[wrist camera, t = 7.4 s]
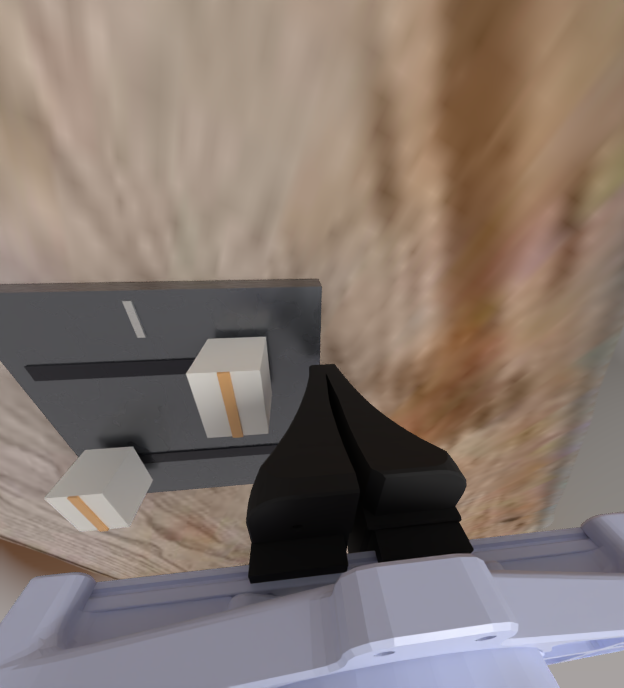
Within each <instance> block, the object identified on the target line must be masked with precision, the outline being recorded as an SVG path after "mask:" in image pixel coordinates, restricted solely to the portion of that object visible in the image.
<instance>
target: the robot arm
mask: <svg viewBox="0 0 624 688" xmlns="http://www.w3.org/2000/svg"><path fill="white" fill-rule="evenodd" d="M465 488H466V479H465V477H464V476H463V474H462V473H461V471H460V470H459V468H458V466H457V465H456V463H455V462H454V461H453V459H452V458H451V457H450V455H449V454H448V453H447V451H445V450H443V449H441V448H439V447H437V446H435V445H433V444H431V443H429V442H427V441H425V440H423V439H421V438H419V437H417V436H416V435H414V434H412V433H411V432H409V431H407V430H406V429H404V428H402V427H401V426H399V425H398V424H396V423H395V422H393V421H392V420H390V419H389V418H388V417H386V416H385V415H384V414H382V413H381V412H380V411H378V410H377V409H376V408H375V407H374V406H372V405H371V404H370V403H369V402H368V401H367V400H366V399H365V398H364V397H363V396H362V395H361V394H360V393H359V392H358V391H357V390H356V389H355V388H354V387H353V386H352V385H351V384H350V383H349V381H348V380H347V379H346V378H345V377H344V376H343V374H342V373H341V372H340V371H339V369H338V368H337V367H336V365H335V364H325V365H311V366H310V367H309V379H308V383H307V387H306V390H305V393H304V396H303V399H302V402H301V404H300V406H299V409H298V411H297V413H296V415H295V417H294V419H293V421H292V422H291V424H290V426H289V428H288V430H287V431H286V433H285V434H284V436H283V437H282V439H281V440H280V442H279V443H278V445H277V446H276V448H275V449H274V450H273V452H272V453H271V454H270V455H269V456H268V458H267V459H266V460H265V461H264V463H263V464H262V465H261V467H260V469H259V471H258V474H257V476H256V479H255V481H254V484H253V487H252V490H251V494H250V498H249V502H248V509H247V517H246V524H247V528H248V531H249V535H250V539H251V542H252V544H251V553H250V562H249V565H243V566H235V567H226V568H217V569H208V570H200V571H191V572H182V573H173V574H165V575H156V576H147V577H138V578H130V579H121V580H112V581H104V582H96V581H95V580H94V578H93V577H92V576H90V575H88V574H86V573H80V572H72V573H63V574H54V575H45V576H36V577H35V578H33V579H31V580H30V581H29V583H28V585H27V586H26V587H25V589H24V590H23V592H22V593H21V594H20V596H19V597H18V599H17V600H16V602H15V603H14V605H13V606H12V607H11V609H10V610H9V612H8V613H7V614H6V616H5V618H4V619H3V620H2V622H1V623H0V688H560V687H559V685H558V683H557V682H556V680H555V678H554V677H553V675H552V673H551V671H550V669H549V668H548V666H547V665H550V664H556V663H561V662H565V661H571V660H576V659H581V658H587V657H592V656H597V655H602V654H608V653H613V652H618V651H624V512H617V513H608V514H600V515H596V516H593V517H591V518H589V519H587V520H586V521H585V522H583V523H582V524H581V527H576V528H567V529H560V530H550V531H542V532H532V533H524V534H515V535H506V536H497V537H489V538H480V539H471V540H469V539H468V538H467V536H466V534H465V532H464V530H463V528H462V527H461V525H460V523H459V522H460V521H461V516H460V514H459V512H458V510H457V509H456V507H455V506H456V504H457V503H458V501H459V499H460V498H461V496H462V495H463V493H464V491H465ZM347 545H348V553H349V554H347V553H346V549H347Z"/></svg>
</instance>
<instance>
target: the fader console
mask: <svg viewBox="0 0 624 688" xmlns="http://www.w3.org/2000/svg"><path fill="white" fill-rule="evenodd" d="M321 295H322V286H321V284H320V281H319V279H287V280H229V281H170V282H112V283H53V284H0V361H1V362H2V363H3V365H4V366H5V367H6V368H7V369H8V371H9V372H10V373H11V374H12V376H13V377H14V378H15V379H16V381H17V382H18V383H19V384H20V386H21V387H22V388H23V389H24V390H25V392H26V393H27V394H28V395H29V397H30V398H31V399H32V400H33V402H34V403H35V404H36V405H37V407H38V408H39V409H40V410H41V411H42V413H43V414H44V415H45V416H46V418H47V419H48V420H49V421H50V423H51V424H52V425H53V426H54V428H55V429H56V430H57V431H58V432H59V434H60V435H61V436H62V437H63V439H64V440H65V441H66V442H67V444H68V445H69V446H70V447H71V449H72V450H73V451H74V452H75V454H76V455H77V456H78V457H80V455H81V454H82V453H83V452H84V451H85V450H91V449H105V448H119V447H134V449H135V451H136V453H137V454H138V456H139V458H140V459H141V461H142V463H143V464H144V466H145V468H146V469H147V471H148V473H149V474H150V476H151V478H152V479H153V481H152V483H151V485H150V487H149V489H148V491H147V493H153V492H164V491H176V490H187V489H199V488H210V487H222V486H233V485H245V484H254V481H255V479H256V476H257V474H258V471H259V469H260V467H261V465H262V464H263V463H264V461H265V460H266V459H267V458H268V456H269V455H270V454H271V453H272V452H273V450H274V449H275V448H276V446H277V445H278V443H279V442H280V440H281V439H282V437H283V436H284V434H285V433H286V431H287V430H288V428H289V426H290V424H291V422H292V421H293V419H294V417H295V415H296V413H297V411H298V409H299V406H300V404H301V402H302V399H303V396H304V393H305V390H306V387H307V383H308V379H309V367H310V366H311V365H320V331H321ZM242 337H266V342H267V352H268V361H269V370H270V380H271V389H272V399H271V410H270V421H269V433H268V434H258V435H244V436H243V437H239V438H233V437H232V436H229V437H215V438H207V435H206V432H205V429H204V426H203V423H202V420H201V417H200V414H199V411H198V408H197V405H196V402H195V399H194V396H193V393H192V390H191V387H190V384H189V381H188V378H187V375H186V373H187V371H188V370H189V368H190V367H191V365H192V363H193V362H194V360H195V359H196V357H197V355H198V354H199V352H200V351H201V349H202V347H203V346H204V344H205V343H206V341H207V339H215V338H242Z"/></svg>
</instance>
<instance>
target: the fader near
mask: <svg viewBox="0 0 624 688" xmlns="http://www.w3.org/2000/svg"><path fill="white" fill-rule="evenodd" d="M186 375H187V378H188V381H189V384H190V387H191V390H192V393H193V396H194V399H195V402H196V405H197V408H198V411H199V414H200V417H201V420H202V423H203V426H204V429H205V432H206V435H207V438H215V437H229V436H232V437H233V438H239V437H243V436H244V435H258V434H268V433H269V421H270V410H271V399H272V389H271V380H270V370H269V361H268V352H267V342H266V337H242V338H215V339H207V341H206V343H205V344H204V346H203V347H202V349H201V351H200V352H199V354H198V355H197V357H196V359H195V360H194V362H193V363H192V365H191V367H190V368H189V370H188V371H187V373H186Z"/></svg>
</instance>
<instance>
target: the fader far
mask: <svg viewBox="0 0 624 688" xmlns="http://www.w3.org/2000/svg"><path fill="white" fill-rule="evenodd" d="M152 481H153V479H152V478H151V476H150V474H149V473H148V471H147V469H146V468H145V466H144V464H143V463H142V461H141V459H140V458H139V456H138V454H137V453H136V451H135V449H134V447H119V448H105V449H91V450H85V451H84V452H83V453H82V454H81V455H80V457H79V458H78V459H77V460H76V461H75V462H74V464H73V465H72V466H71V467H70V468H69V470H68V471H67V472H66V473H65V474H64V475H63V477H62V478H61V479H60V480H59V481H58V482H57V484H56V485H55V486H54V487H53V488H52V490H51V491H50V492H49V493H48V494H47V495H46V497H45V498H44V499H45V500H46V501H47V502H48V503H49V504H50V505H51V506H52V507H54V508H55V509H56V510H57V511H58V512H59V513H60V514H61V515H62V516H63V517H64V518H65V519H67V520H68V521H69V522H70V523H71V524H72V525H73V526H74V527H75V528H76V529H77V530H79V531H80V532H83V531H93V530H99V531H100V532H101V531H108V530H109V529H114V528H124V527H130V525H131V523H132V521H133V519H134V517H135V515H136V513H137V511H138V509H139V507H140V505H141V503H142V501H143V499H144V497H145V495H146V493H147V491H148V489H149V487H150V485H151V483H152Z"/></svg>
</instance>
